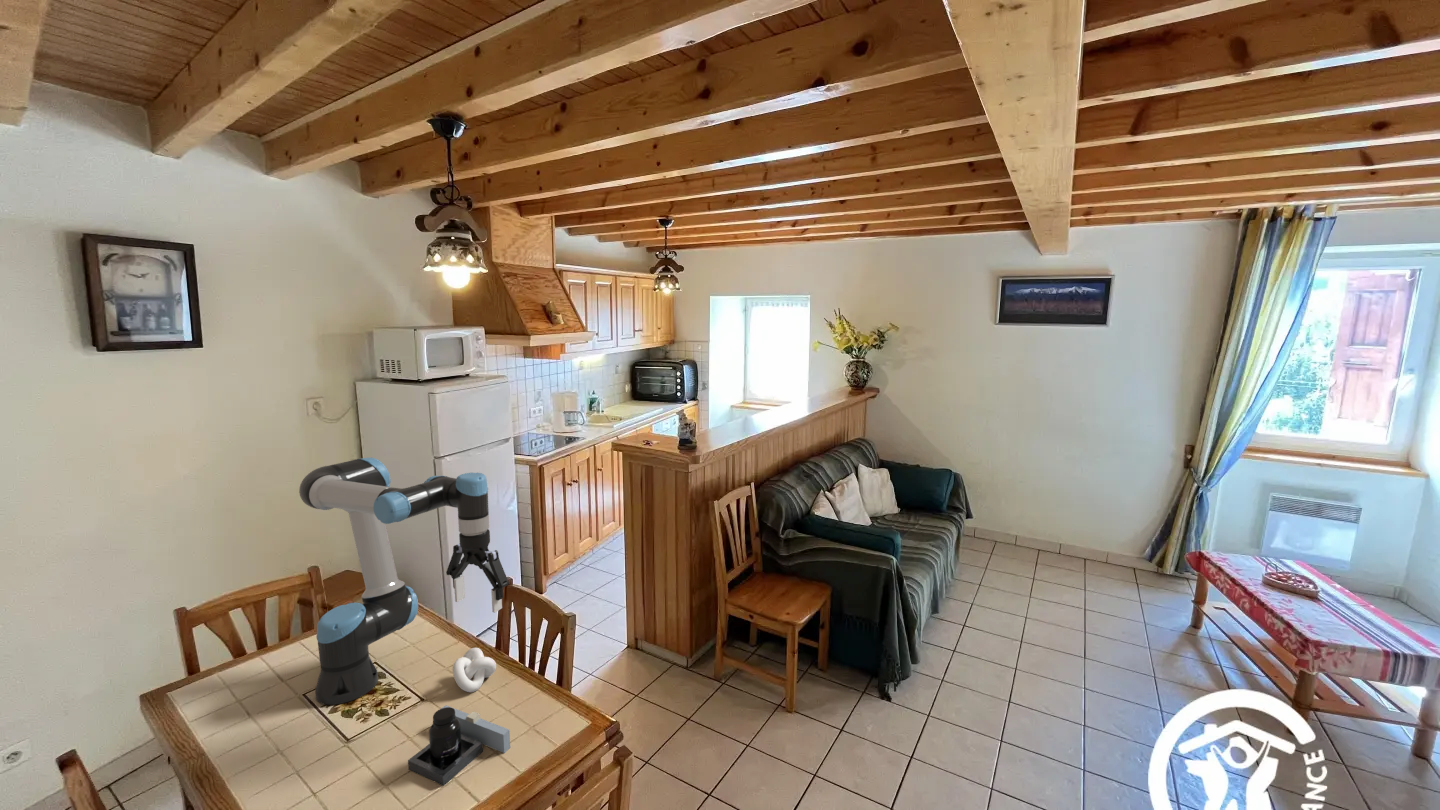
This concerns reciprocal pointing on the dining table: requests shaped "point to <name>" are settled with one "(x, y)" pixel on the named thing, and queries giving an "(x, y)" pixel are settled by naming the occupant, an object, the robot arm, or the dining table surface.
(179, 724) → the dining table surface
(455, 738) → the supplement bottle
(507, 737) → the door edge plank
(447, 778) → the keeper frame
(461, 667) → the white trefoil knot
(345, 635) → the robot arm
